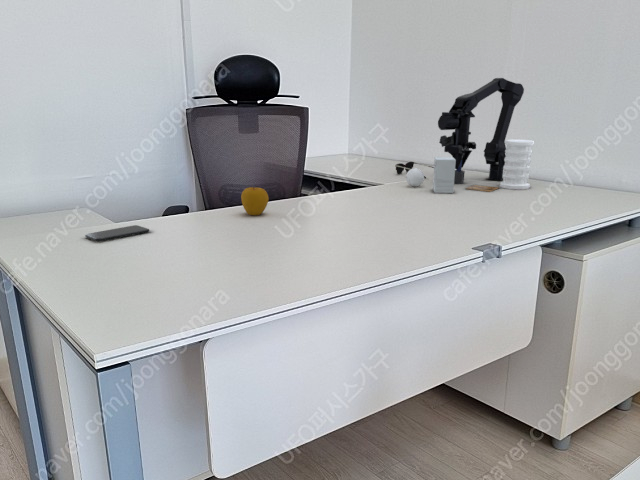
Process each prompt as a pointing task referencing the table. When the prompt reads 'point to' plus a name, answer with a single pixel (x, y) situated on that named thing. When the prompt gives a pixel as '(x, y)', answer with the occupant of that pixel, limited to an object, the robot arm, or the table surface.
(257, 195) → the apple
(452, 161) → the white packaging box
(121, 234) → the smartphone
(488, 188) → the sketch board
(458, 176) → the pen cup
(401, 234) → the table surface
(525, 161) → the decorative container
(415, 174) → the white ball
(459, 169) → the marker
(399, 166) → the sunglasses
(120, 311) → the table surface
